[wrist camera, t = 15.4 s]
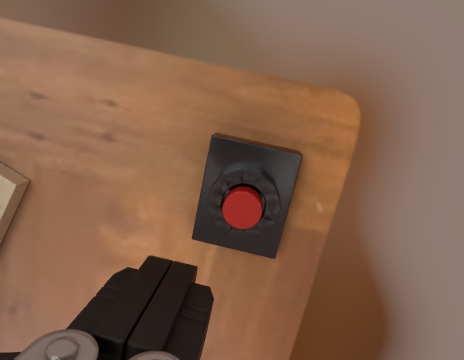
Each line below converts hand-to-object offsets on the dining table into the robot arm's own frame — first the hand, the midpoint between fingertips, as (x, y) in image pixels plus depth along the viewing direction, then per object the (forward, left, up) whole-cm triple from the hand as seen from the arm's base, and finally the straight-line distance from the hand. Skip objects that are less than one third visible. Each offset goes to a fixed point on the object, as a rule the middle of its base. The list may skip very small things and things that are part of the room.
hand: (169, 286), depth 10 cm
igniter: (+2, +3, -22) cm, 22 cm away
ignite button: (+2, +3, -18) cm, 19 cm away
